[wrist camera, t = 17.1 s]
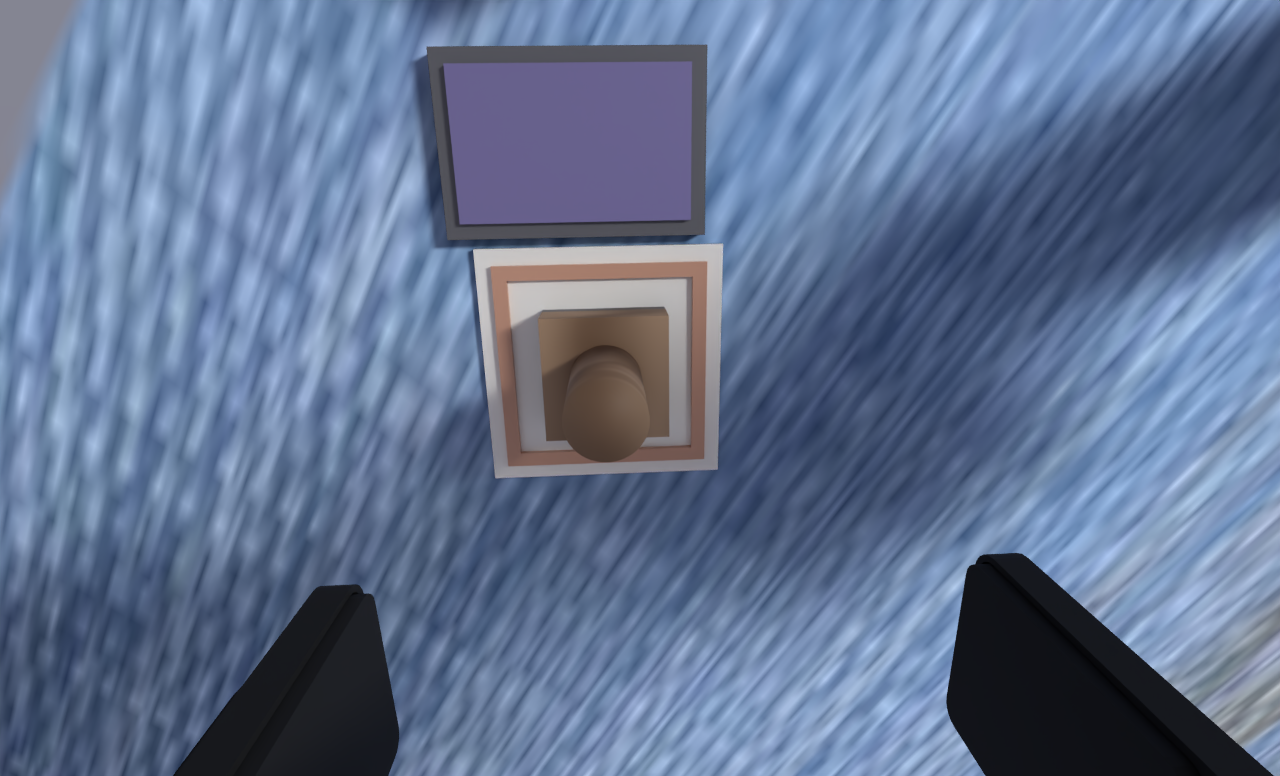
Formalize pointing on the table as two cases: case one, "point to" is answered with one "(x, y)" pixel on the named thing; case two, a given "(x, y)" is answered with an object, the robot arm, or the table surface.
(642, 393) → the stamp
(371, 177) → the table surface
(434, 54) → the ink pad
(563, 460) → the cream card
